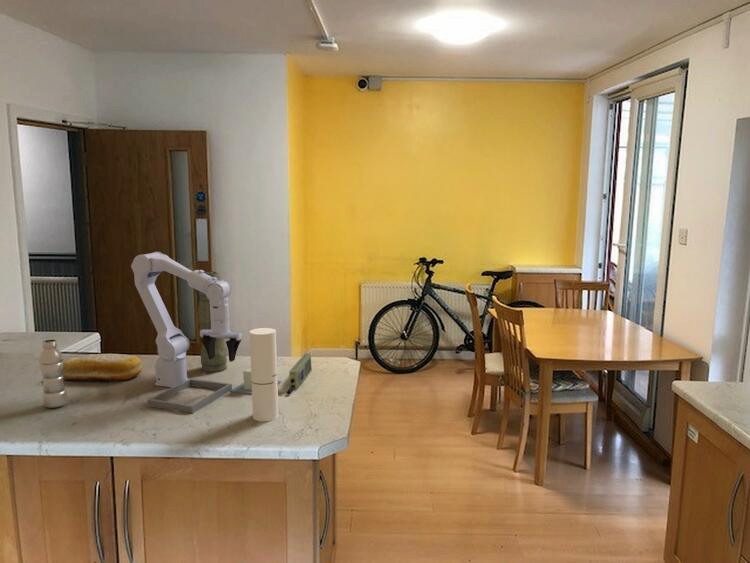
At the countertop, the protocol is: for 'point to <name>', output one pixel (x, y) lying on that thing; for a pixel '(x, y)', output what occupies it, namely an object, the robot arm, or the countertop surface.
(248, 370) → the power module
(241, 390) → the rubber mat
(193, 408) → the gray rectangular frame
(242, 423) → the countertop surface
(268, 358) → the cylindrical container
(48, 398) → the plastic bottle
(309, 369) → the handheld radio
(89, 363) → the bread
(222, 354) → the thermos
